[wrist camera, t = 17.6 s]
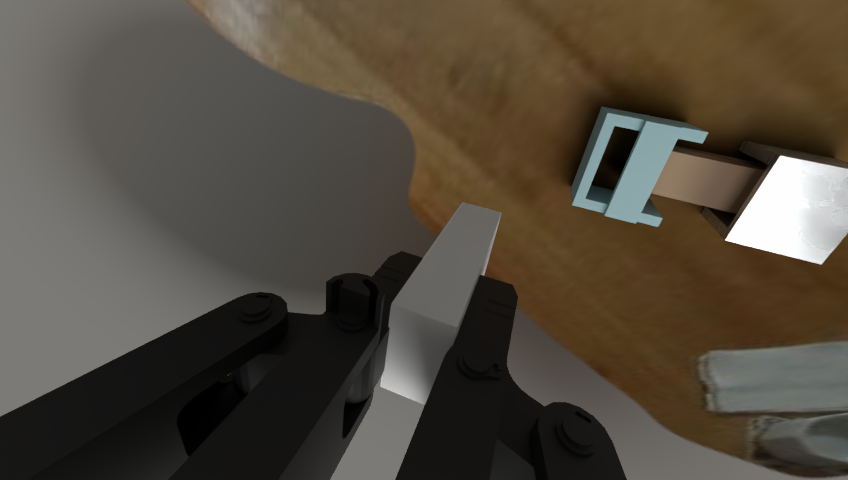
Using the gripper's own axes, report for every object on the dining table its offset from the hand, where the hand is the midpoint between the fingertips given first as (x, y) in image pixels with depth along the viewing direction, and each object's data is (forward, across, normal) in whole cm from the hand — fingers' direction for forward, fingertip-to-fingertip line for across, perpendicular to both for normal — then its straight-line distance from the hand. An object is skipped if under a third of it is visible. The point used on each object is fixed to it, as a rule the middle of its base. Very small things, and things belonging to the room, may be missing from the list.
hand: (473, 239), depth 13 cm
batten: (+24, +16, 0) cm, 29 cm away
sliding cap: (+24, +9, 0) cm, 26 cm away
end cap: (+24, +20, 0) cm, 31 cm away
